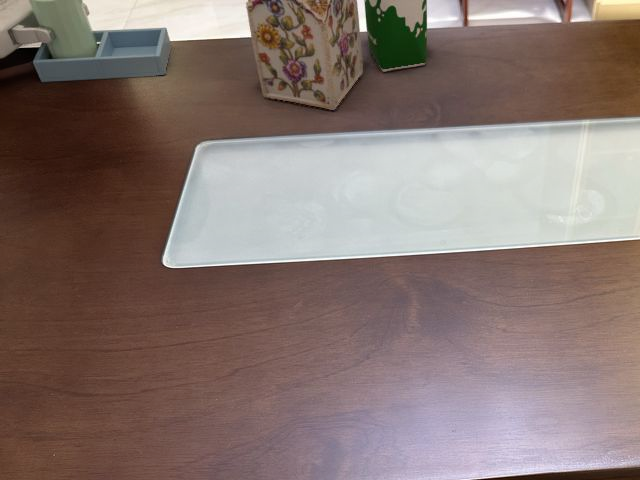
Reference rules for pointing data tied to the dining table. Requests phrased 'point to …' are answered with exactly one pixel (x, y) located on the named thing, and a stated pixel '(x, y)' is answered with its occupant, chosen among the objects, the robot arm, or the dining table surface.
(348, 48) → the decorative jar
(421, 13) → the milk carton
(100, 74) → the divided tray
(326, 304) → the dining table surface
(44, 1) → the cup
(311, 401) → the dining table surface
